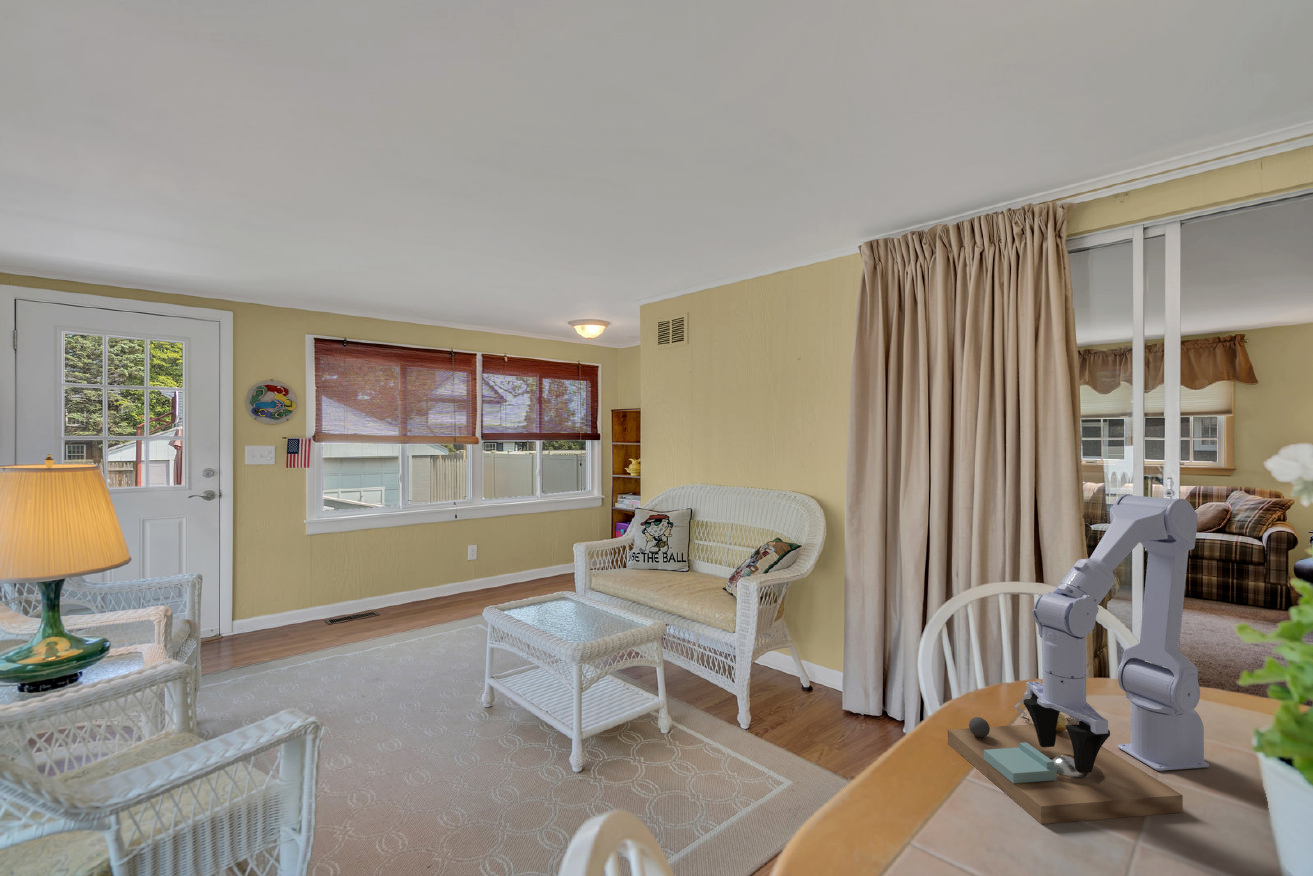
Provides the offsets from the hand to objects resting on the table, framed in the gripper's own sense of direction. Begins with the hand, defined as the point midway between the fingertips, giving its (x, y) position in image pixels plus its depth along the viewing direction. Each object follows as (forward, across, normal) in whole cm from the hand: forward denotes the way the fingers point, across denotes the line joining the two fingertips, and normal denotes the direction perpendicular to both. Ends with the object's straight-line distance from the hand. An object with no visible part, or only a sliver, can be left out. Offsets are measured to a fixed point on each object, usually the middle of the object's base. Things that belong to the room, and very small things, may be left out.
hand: (1064, 758), depth 98 cm
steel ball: (+2, +1, 0) cm, 2 cm away
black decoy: (0, -11, -7) cm, 13 cm away
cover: (+1, 0, -8) cm, 8 cm away
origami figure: (+4, -23, +13) cm, 27 cm away
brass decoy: (0, -11, +8) cm, 13 cm away
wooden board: (+4, -2, 0) cm, 5 cm away
